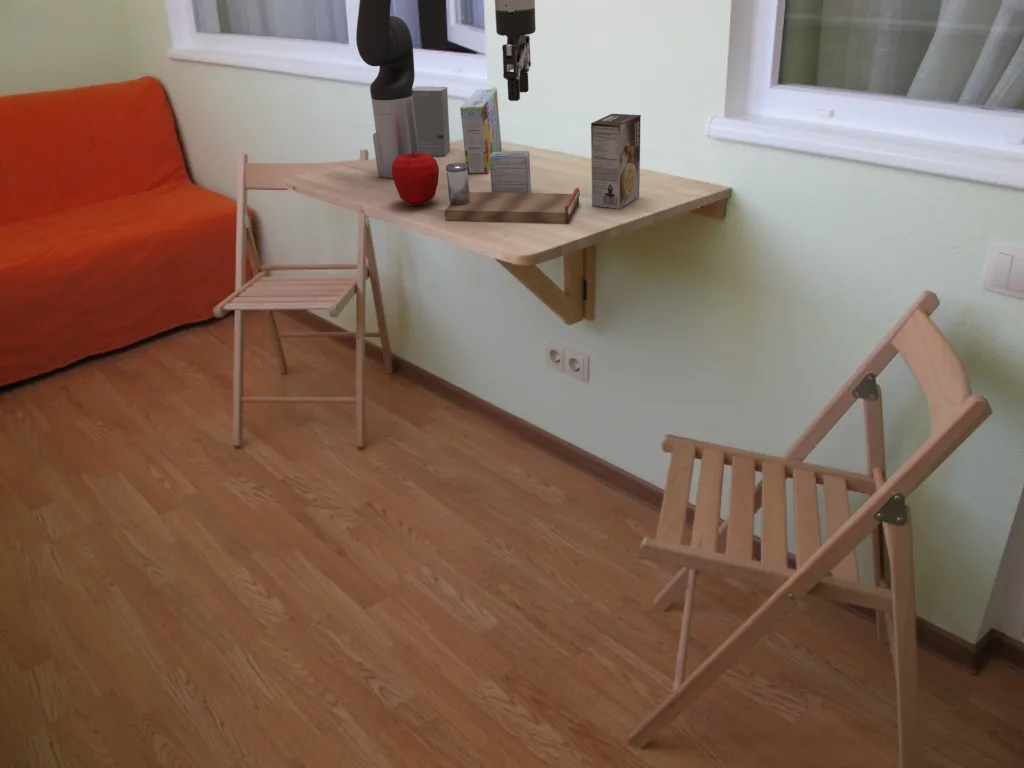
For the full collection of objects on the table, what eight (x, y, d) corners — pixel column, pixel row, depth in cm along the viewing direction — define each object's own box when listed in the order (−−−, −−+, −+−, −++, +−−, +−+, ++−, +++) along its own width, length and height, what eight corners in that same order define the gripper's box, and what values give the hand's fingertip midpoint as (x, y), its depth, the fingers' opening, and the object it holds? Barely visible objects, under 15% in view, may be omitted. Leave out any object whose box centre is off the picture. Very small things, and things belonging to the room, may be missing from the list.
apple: (429, 212, 162) (423, 157, 157) (386, 209, 165) (379, 155, 160) (449, 197, 170) (445, 145, 165) (408, 195, 173) (402, 143, 168)
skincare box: (413, 157, 203) (406, 90, 195) (420, 150, 209) (413, 85, 201) (446, 156, 201) (440, 89, 193) (453, 149, 207) (447, 84, 200)
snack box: (480, 152, 204) (475, 88, 197) (502, 151, 203) (498, 88, 196) (464, 175, 186) (459, 106, 178) (489, 174, 185) (484, 105, 178)
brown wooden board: (445, 220, 157) (444, 203, 156) (463, 201, 167) (462, 186, 166) (569, 223, 152) (569, 206, 150) (580, 203, 162) (579, 187, 160)
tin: (446, 205, 159) (442, 168, 155) (452, 198, 163) (449, 162, 159) (467, 205, 158) (463, 168, 154) (473, 199, 162) (470, 162, 158)
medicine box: (531, 191, 171) (529, 150, 167) (529, 198, 167) (528, 155, 163) (494, 192, 172) (491, 151, 168) (491, 199, 168) (488, 156, 164)
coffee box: (611, 193, 167) (611, 112, 159) (640, 197, 164) (642, 114, 156) (590, 206, 160) (590, 122, 152) (620, 210, 157) (621, 124, 149)
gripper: (503, 3, 161) (508, 89, 169) (486, 11, 149) (492, 103, 157) (541, 2, 159) (543, 89, 167) (527, 9, 147) (530, 103, 155)
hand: (518, 96), depth 162 cm, fingers open, 8 cm apart
